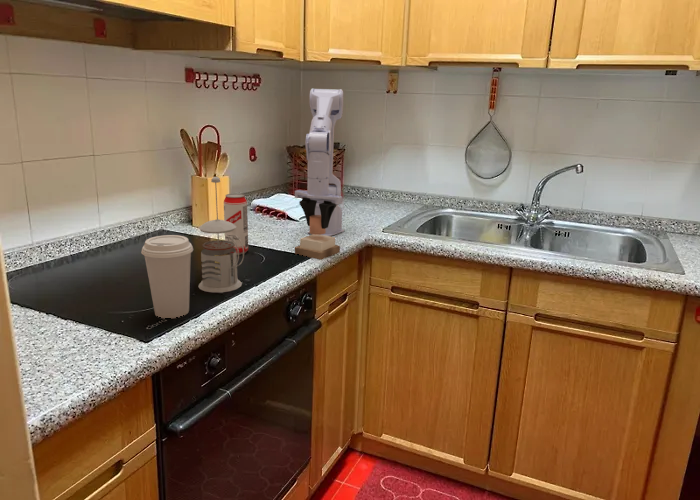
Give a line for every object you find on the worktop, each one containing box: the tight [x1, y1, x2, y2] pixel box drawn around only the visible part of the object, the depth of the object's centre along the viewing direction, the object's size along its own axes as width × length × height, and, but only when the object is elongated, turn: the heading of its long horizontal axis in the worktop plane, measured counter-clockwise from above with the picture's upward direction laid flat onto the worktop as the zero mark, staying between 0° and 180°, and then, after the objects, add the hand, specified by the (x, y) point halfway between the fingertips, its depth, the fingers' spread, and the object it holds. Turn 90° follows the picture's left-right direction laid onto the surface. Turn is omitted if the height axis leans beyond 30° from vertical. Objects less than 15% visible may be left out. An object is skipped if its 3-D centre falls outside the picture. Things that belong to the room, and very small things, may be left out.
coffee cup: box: [140, 234, 194, 319], centre depth 105 cm, size 10×10×15 cm
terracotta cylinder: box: [309, 215, 326, 235], centre depth 147 cm, size 4×4×4 cm
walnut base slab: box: [294, 244, 341, 261], centre depth 149 cm, size 9×9×2 cm
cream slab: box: [299, 234, 336, 252], centre depth 149 cm, size 7×7×2 cm
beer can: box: [223, 192, 249, 256], centre depth 146 cm, size 6×6×16 cm
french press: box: [198, 176, 245, 293], centre depth 119 cm, size 10×12×25 cm
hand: (317, 226), depth 147 cm, fingers closed on terracotta cylinder, 4 cm apart
